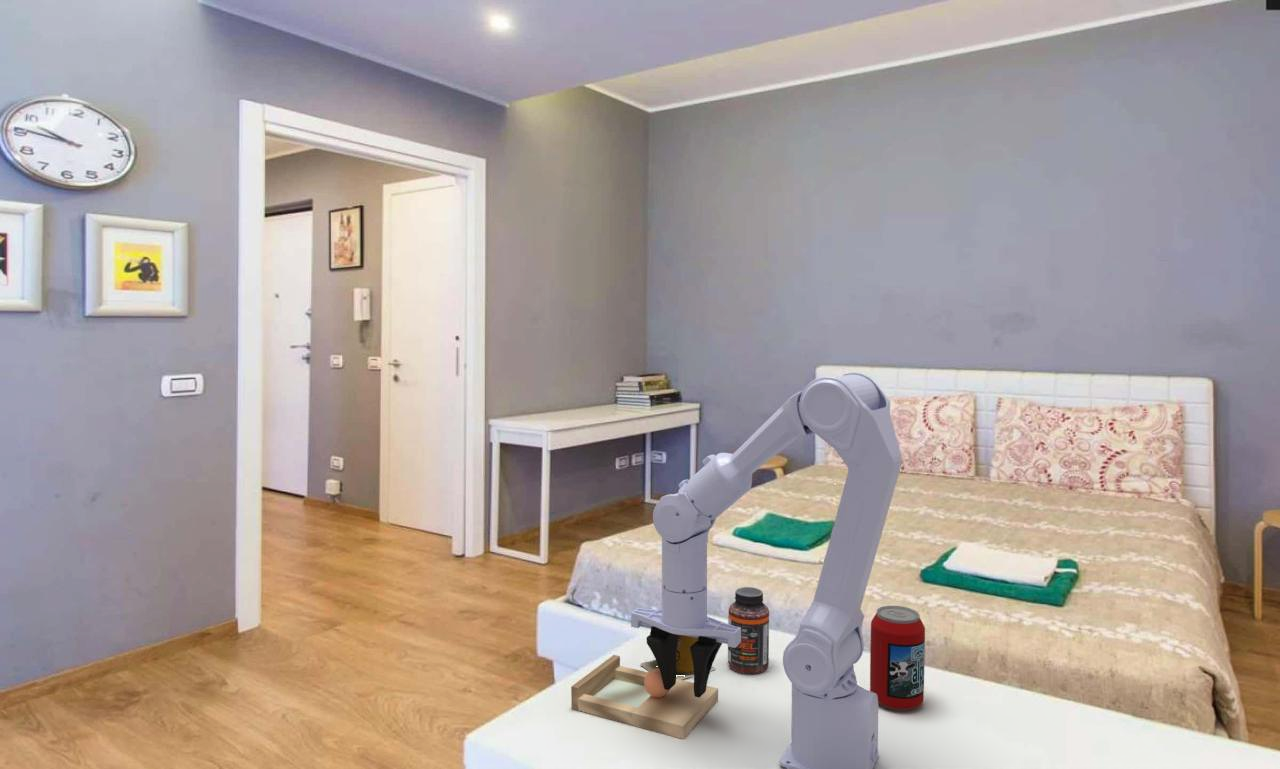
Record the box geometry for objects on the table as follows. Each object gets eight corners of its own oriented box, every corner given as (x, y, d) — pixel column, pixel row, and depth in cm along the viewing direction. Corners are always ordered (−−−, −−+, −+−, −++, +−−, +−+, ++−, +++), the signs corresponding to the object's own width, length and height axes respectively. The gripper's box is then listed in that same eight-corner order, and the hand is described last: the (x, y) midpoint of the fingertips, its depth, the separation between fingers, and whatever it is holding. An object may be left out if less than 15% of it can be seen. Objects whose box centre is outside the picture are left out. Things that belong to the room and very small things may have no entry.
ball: (676, 691, 100) (673, 665, 100) (665, 703, 97) (661, 675, 97) (653, 689, 102) (650, 663, 102) (641, 700, 99) (637, 673, 99)
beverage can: (905, 719, 96) (907, 626, 95) (859, 700, 101) (860, 611, 101) (933, 703, 100) (935, 613, 100) (888, 684, 106) (889, 600, 105)
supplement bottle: (724, 672, 110) (724, 595, 109) (731, 656, 115) (731, 582, 115) (766, 678, 108) (766, 599, 107) (771, 660, 114) (771, 586, 113)
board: (718, 700, 102) (718, 678, 101) (683, 739, 92) (683, 714, 92) (614, 675, 109) (613, 654, 109) (571, 708, 99) (571, 686, 99)
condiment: (716, 669, 111) (716, 588, 110) (668, 685, 106) (668, 600, 105) (686, 652, 117) (685, 575, 116) (639, 666, 112) (639, 586, 111)
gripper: (749, 585, 97) (749, 689, 98) (648, 568, 104) (648, 666, 105) (729, 602, 91) (728, 713, 92) (622, 584, 97) (623, 687, 98)
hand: (684, 690), depth 98 cm, fingers open, 4 cm apart
